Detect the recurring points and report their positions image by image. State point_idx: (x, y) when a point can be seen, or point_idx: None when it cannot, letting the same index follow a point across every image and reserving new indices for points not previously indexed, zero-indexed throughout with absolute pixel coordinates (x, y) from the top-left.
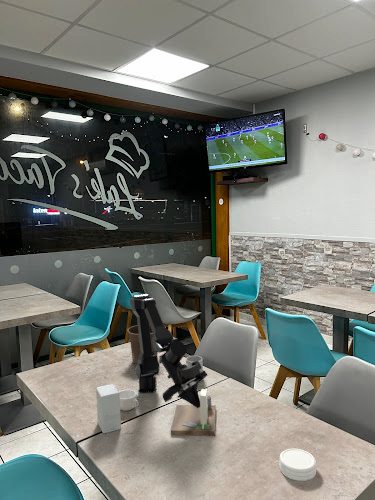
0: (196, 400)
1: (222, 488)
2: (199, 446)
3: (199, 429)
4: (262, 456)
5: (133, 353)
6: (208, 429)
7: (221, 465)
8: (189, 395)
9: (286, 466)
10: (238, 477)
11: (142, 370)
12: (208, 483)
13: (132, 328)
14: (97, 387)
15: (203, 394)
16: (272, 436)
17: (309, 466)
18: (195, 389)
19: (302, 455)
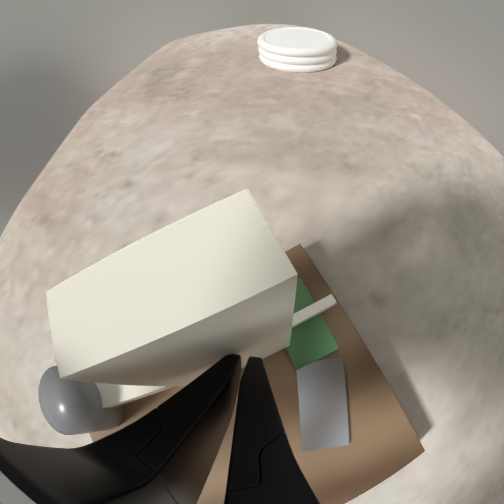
0: (245, 398)
1: (467, 134)
2: (411, 269)
3: (335, 325)
4: (305, 97)
5: None
6: (304, 281)
7: (424, 157)
8: (300, 496)
9: (336, 43)
10: (418, 116)
11: None
12: (485, 162)
13: None
14: None
15: (216, 246)
16: (194, 113)
17: (306, 28)
18: (114, 469)
19: (279, 36)
